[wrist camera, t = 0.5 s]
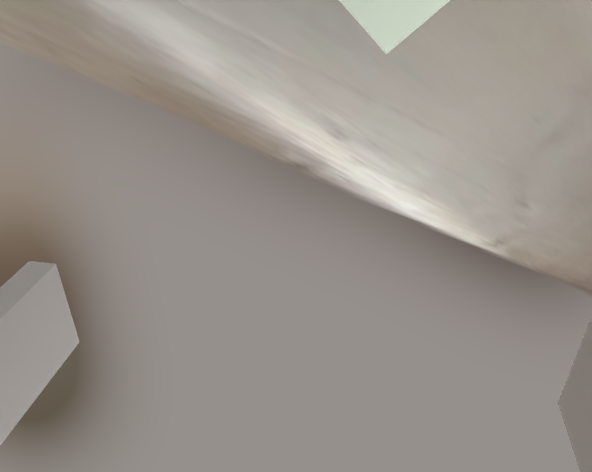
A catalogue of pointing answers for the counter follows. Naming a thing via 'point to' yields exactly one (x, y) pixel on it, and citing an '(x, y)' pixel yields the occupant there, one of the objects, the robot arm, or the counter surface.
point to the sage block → (391, 18)
